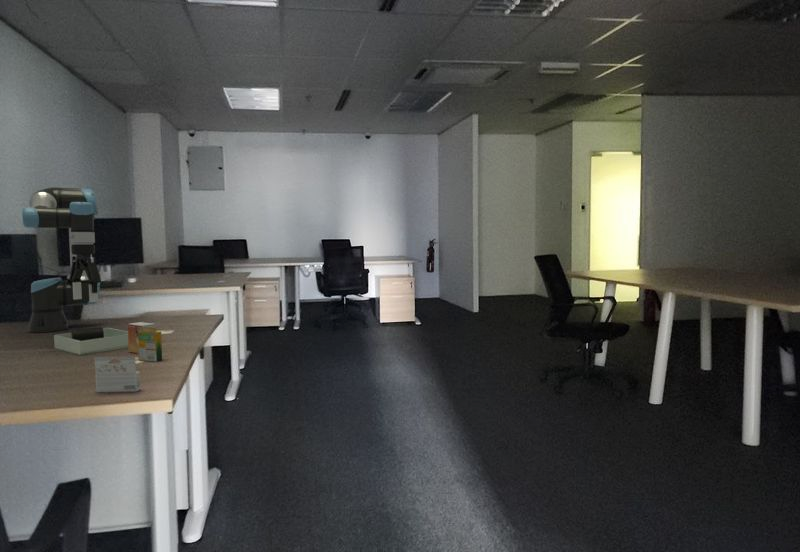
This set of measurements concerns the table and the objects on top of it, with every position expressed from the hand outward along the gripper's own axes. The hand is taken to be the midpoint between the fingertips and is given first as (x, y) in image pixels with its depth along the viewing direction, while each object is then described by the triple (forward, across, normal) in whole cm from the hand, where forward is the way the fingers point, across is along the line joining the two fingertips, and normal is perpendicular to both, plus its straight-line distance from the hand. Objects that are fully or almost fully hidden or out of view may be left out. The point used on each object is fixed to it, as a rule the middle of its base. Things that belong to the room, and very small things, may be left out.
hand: (85, 300), depth 195 cm
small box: (+18, +23, +9) cm, 31 cm away
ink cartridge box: (+18, +66, -20) cm, 72 cm away
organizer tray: (+18, 0, +3) cm, 18 cm away
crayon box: (+18, +38, +4) cm, 42 cm away
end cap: (+18, 0, 0) cm, 18 cm away
